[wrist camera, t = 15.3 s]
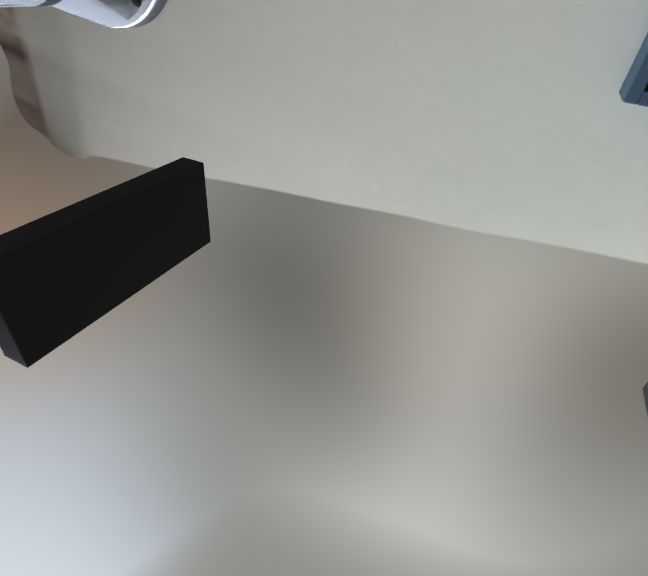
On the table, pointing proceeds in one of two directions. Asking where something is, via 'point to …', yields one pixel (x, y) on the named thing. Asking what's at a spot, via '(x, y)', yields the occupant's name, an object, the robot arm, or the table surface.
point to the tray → (637, 79)
